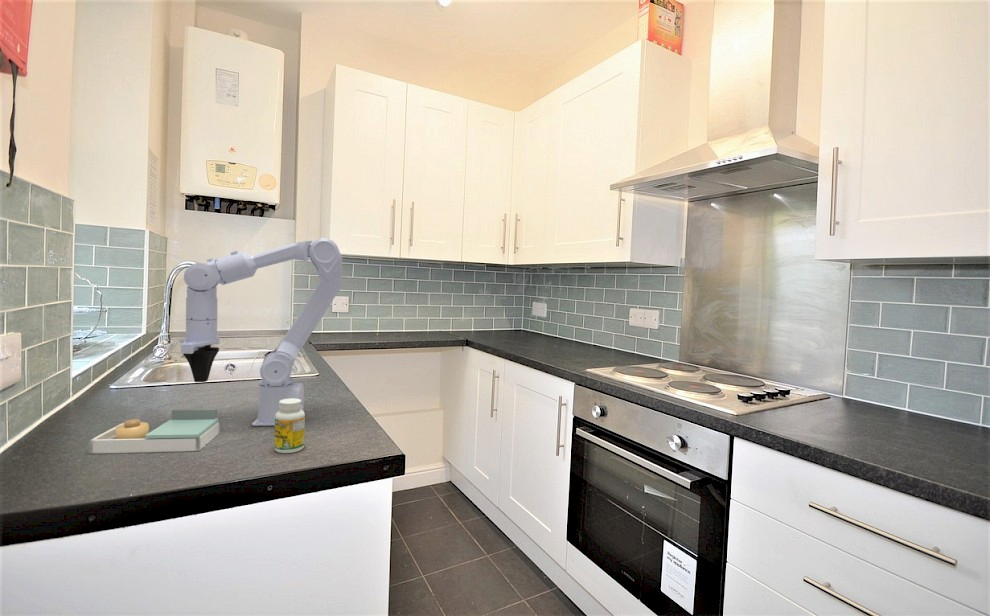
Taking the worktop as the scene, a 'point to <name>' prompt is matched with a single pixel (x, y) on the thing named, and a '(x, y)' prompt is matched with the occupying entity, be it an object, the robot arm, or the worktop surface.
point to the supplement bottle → (289, 426)
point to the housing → (150, 443)
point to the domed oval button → (132, 429)
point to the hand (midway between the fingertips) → (201, 381)
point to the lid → (186, 424)
